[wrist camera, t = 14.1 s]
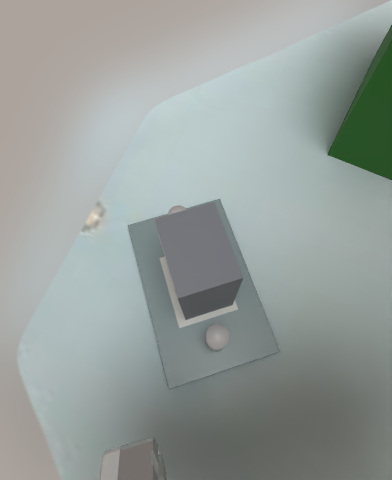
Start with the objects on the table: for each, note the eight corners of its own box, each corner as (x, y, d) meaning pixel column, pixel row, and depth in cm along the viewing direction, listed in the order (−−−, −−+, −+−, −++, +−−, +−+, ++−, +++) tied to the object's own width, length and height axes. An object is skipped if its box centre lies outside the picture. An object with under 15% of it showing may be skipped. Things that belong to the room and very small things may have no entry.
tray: (129, 229, 33) (118, 206, 29) (219, 203, 34) (221, 177, 30) (170, 388, 27) (163, 391, 23) (277, 352, 28) (291, 347, 24)
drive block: (167, 260, 31) (153, 219, 23) (212, 246, 31) (214, 201, 23) (185, 320, 29) (176, 298, 20) (233, 304, 29) (244, 277, 21)
